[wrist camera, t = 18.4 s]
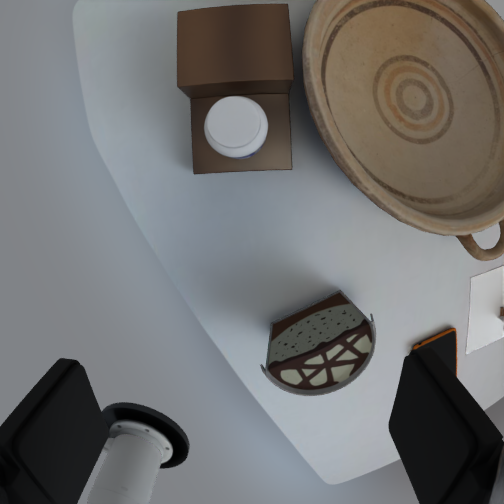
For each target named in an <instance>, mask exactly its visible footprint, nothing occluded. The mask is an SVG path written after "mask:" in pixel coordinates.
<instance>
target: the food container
mask: <svg viewBox="0 0 504 504" xmlns="http://www.w3.org/2000/svg"><path fill="white" fill-rule="evenodd" d="M370 315H371V320H372V321H370V320H369V319H368V318H367V317H366V316H365V315H364V314H363V313H362V312H361V311H360V310H359V309H358V308H357V307H356V306H355V305H354V304H353V303H352V301H351V300H350V299H349V298H348V297H347V296H346V295H345V294H344V293H343V292H342V291H341V290H339V291H337V292H335V293H333V294H331V295H329V296H327V297H325V298H323V299H321V300H319V301H317V302H315V303H313V304H311V305H309V306H307V307H305V308H302V309H300V310H298V311H296V312H294V313H292V314H290V315H288V316H285V317H283V318H281V319H279V320H277V321H275V322H272V323H271V328H270V336H269V344H268V352H267V360H266V367H265V368H264V367H263V365H262V364H261V365H260V366H261V369H262V371H263V373H264V374H265V375H266V377H267V378H268V379H269V380H270V381H271V382H272V383H273V384H274V385H276V386H277V387H279V388H280V389H282V390H284V391H287V392H289V393H292V394H296V395H303V396H317V395H324V394H328V393H331V392H334V391H337V390H339V389H341V388H343V387H345V386H347V385H348V384H350V383H351V382H353V381H354V380H355V379H356V378H357V377H358V376H360V374H361V373H362V372H363V371H364V370H365V368H366V367H367V365H368V364H369V362H370V360H371V358H372V356H373V353H374V349H375V343H376V328H375V324H374V320H373V316H372V314H370Z"/></svg>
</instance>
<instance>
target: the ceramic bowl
mask: <svg viewBox="0 0 504 504" xmlns="http://www.w3.org/2000/svg"><path fill="white" fill-rule="evenodd" d="M302 68H303V84H304V89H305V93H306V97H307V101H308V106H309V110H310V113H311V115H312V118H313V120H314V123H315V125H316V127H317V130H318V132H319V135H320V137H321V139H322V141H323V142H324V144H325V146H326V147H327V149H328V151H329V152H330V154H331V156H332V158H333V159H334V161H335V162H336V164H337V165H338V166H339V167H340V169H341V170H342V171H343V172H344V173H345V175H346V176H347V177H348V178H349V180H350V181H351V182H352V183H353V184H354V185H355V186H356V187H357V188H358V189H359V190H360V191H361V192H362V193H364V194H365V195H366V196H367V197H368V198H369V199H370V200H371V201H372V202H374V203H375V204H376V205H377V206H378V207H379V208H381V209H382V210H384V211H385V212H387V213H388V214H390V215H391V216H393V217H394V218H396V219H397V220H399V221H400V222H403V223H405V224H407V225H410V226H412V227H414V228H417V229H419V230H421V231H424V232H429V233H434V234H439V235H443V236H456V237H457V238H458V239H459V241H460V242H461V244H462V245H463V246H464V248H465V249H466V250H467V251H468V253H469V254H470V255H472V256H473V257H474V258H476V259H478V260H481V261H488V260H493V259H496V258H498V257H500V256H501V255H502V254H503V253H504V20H503V19H502V18H501V17H500V16H499V14H498V13H497V12H496V11H495V10H494V9H493V8H492V7H491V6H490V5H489V4H488V3H487V2H486V1H485V0H317V1H316V2H315V3H314V5H313V7H312V10H311V13H310V15H309V18H308V21H307V23H306V26H305V32H304V40H303V47H302ZM498 222H499V225H500V232H501V234H500V239H499V241H498V242H497V244H496V245H495V247H493V248H491V249H486V250H484V249H481V248H480V247H479V246H478V245H477V243H476V242H475V241H474V239H473V237H472V235H471V234H472V233H476V232H480V231H483V230H485V229H487V228H489V227H491V226H493V225H495V224H497V223H498Z"/></svg>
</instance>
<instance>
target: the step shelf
mask: <svg viewBox="0 0 504 504" xmlns="http://www.w3.org/2000/svg"><path fill="white" fill-rule="evenodd" d="M293 81H294V68H293V55H292V42H291V30H290V19H289V9H288V4H248V5H232V6H220V7H210V8H201V9H194V10H187V11H180V12H178V16H177V87H178V88H179V89H180V90H181V91H182V92H184V93H185V94H186V95H187V96H188V97H189V98H190V105H191V132H192V154H193V172H194V174H206V173H222V172H240V171H264V170H292V151H291V128H290V108H289V94H288V93H289V90H290V88H291V86H292V83H293ZM230 96H241V97H246V98H249V99H251V100H253V101H254V102H256V103H257V104H258V105H259V106H260V107H261V108H262V109H263V111H264V113H265V115H266V117H267V121H268V132H267V136H266V140H265V143H264V145H263V146H262V148H261V149H260V150H259V151H258V152H257V153H256V154H255V155H253V156H251V157H249V158H245V159H234V158H230V157H227V156H224V155H222V154H220V153H218V152H217V151H216V150H214V149H213V148H212V147H211V145H210V144H209V143H208V141H207V139H206V136H205V131H204V124H205V119H206V117H207V114H208V112H209V111H210V109H211V108H212V106H213V105H214V104H215V103H216V102H218V101H219V100H221V99H223V98H226V97H230Z"/></svg>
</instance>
